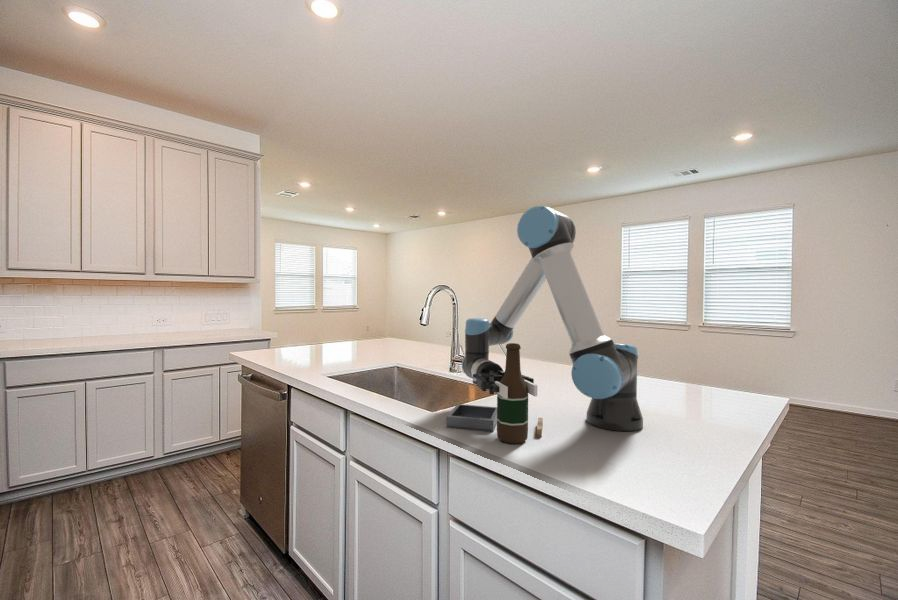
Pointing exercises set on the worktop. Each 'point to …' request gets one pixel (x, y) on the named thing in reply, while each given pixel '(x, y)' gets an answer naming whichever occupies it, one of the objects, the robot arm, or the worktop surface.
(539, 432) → the jamb strip
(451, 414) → the keeper
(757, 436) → the worktop surface
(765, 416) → the worktop surface
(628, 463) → the worktop surface
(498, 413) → the beer bottle
